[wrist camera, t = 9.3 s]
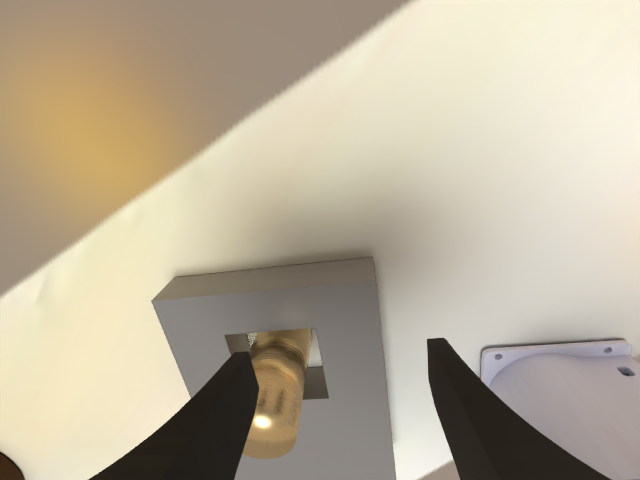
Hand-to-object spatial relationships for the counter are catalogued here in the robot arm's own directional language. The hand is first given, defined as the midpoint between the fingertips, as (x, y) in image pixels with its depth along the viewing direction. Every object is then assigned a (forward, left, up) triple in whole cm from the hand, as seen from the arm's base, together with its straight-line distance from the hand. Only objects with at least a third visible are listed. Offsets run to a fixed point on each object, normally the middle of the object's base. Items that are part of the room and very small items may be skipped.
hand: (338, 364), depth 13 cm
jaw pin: (+5, +6, -9) cm, 12 cm away
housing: (+5, +9, -9) cm, 14 cm away
